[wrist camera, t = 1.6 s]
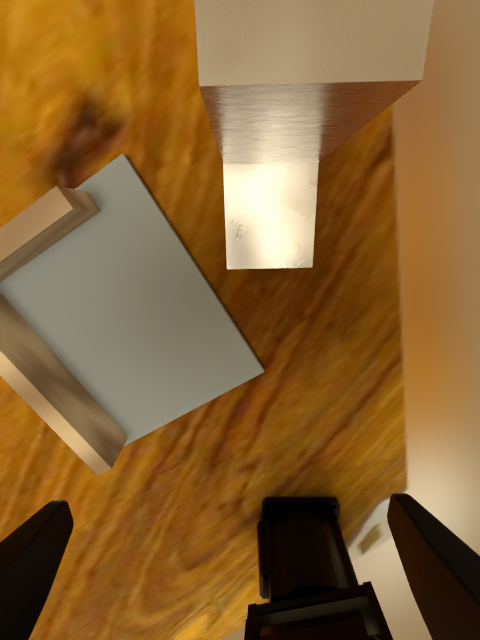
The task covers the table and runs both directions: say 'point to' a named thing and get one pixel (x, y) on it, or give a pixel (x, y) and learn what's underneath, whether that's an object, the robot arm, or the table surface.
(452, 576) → the robot arm
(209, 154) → the table surface
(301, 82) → the bracket
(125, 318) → the slate board
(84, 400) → the board walls
